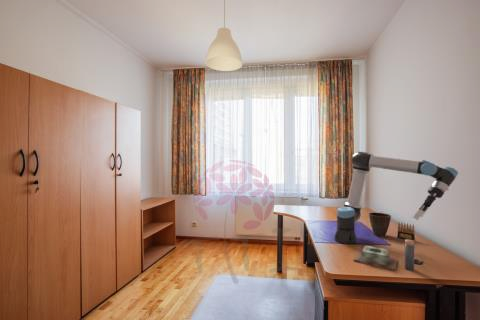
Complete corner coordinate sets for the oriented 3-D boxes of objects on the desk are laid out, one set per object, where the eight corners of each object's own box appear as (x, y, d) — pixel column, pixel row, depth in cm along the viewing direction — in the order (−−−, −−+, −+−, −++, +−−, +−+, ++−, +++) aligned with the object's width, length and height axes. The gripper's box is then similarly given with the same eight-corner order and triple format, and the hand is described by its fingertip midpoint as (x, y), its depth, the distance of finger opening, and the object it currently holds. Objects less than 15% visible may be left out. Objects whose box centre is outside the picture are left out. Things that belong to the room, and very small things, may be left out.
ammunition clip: (415, 240, 176) (415, 224, 176) (414, 241, 175) (414, 224, 175) (398, 237, 184) (398, 221, 184) (397, 237, 183) (397, 221, 183)
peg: (404, 269, 128) (405, 240, 128) (405, 266, 131) (405, 238, 131) (414, 271, 125) (414, 242, 125) (414, 268, 129) (414, 240, 129)
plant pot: (391, 239, 179) (391, 217, 179) (369, 236, 186) (369, 215, 186) (389, 234, 193) (389, 213, 193) (368, 231, 199) (368, 211, 200)
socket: (353, 261, 138) (353, 250, 138) (358, 252, 151) (358, 243, 151) (395, 270, 126) (395, 259, 126) (397, 260, 139) (397, 250, 139)
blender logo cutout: (404, 258, 144) (404, 257, 144) (418, 259, 143) (418, 258, 143) (412, 264, 135) (412, 263, 135) (427, 265, 133) (427, 264, 133)
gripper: (450, 188, 138) (428, 218, 137) (438, 197, 159) (419, 223, 158) (435, 180, 142) (414, 209, 141) (426, 190, 163) (407, 216, 162)
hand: (417, 217), depth 150 cm, fingers open, 13 cm apart
